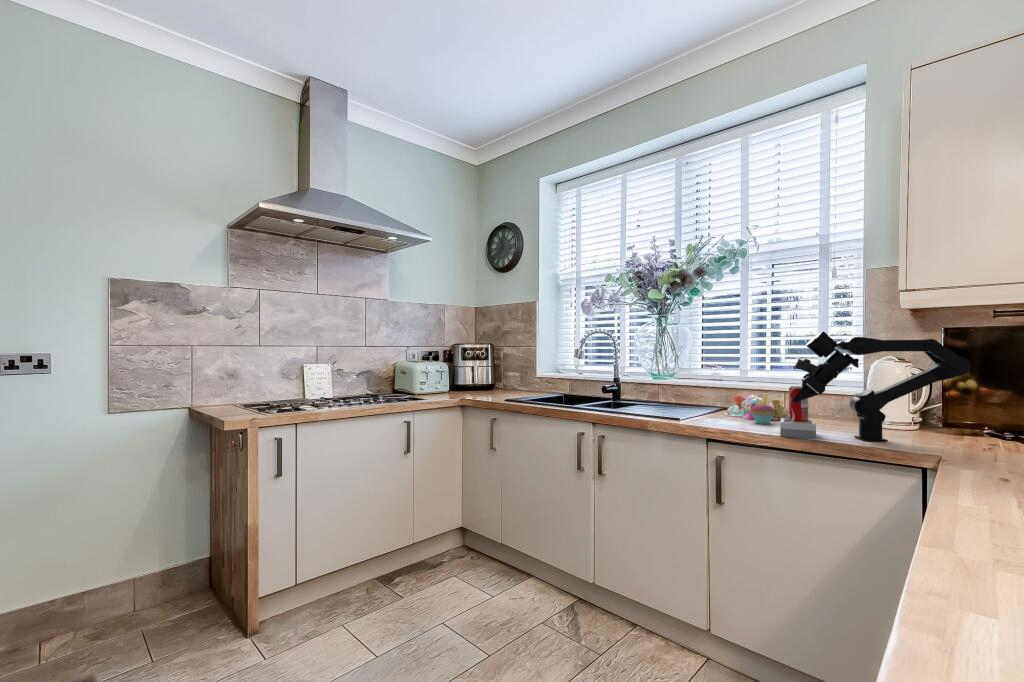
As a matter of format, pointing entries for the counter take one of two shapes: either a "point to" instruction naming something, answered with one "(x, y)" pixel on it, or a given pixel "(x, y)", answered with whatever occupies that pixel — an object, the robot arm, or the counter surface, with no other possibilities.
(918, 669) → the counter surface
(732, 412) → the colorful dessert platter
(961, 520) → the counter surface
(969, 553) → the counter surface
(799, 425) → the socket block
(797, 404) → the soda can
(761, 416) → the cupcake
